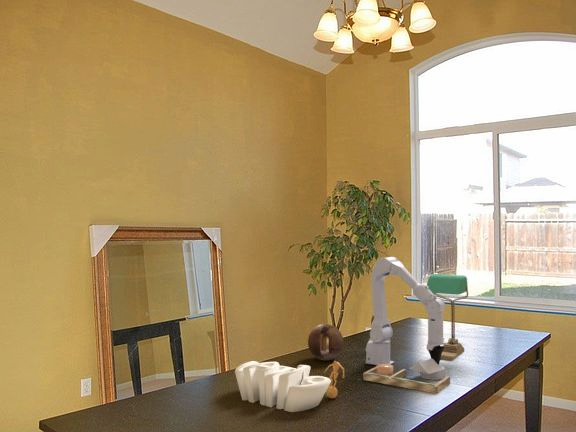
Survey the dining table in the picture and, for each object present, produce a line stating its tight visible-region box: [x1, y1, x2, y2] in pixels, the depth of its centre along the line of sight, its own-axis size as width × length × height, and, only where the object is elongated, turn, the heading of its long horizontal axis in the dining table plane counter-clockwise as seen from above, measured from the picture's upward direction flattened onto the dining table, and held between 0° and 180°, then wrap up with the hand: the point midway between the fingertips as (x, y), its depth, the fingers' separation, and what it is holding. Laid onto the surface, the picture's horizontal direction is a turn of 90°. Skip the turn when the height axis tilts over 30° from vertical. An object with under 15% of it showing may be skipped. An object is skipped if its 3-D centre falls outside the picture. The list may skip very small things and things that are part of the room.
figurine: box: [324, 360, 345, 399], centre depth 177 cm, size 8×6×12 cm
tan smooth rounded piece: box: [376, 364, 394, 377], centre depth 200 cm, size 6×6×4 cm
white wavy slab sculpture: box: [234, 360, 332, 413], centre depth 176 cm, size 35×16×11 cm, turn 52°
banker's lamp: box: [426, 273, 469, 362], centre depth 234 cm, size 16×21×35 cm
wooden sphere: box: [307, 323, 344, 361], centre depth 226 cm, size 15×15×15 cm
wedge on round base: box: [408, 358, 446, 381], centre depth 200 cm, size 9×7×13 cm
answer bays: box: [362, 365, 451, 394], centre depth 195 cm, size 28×14×3 cm, turn 55°
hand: (435, 365), depth 206 cm, fingers closed
